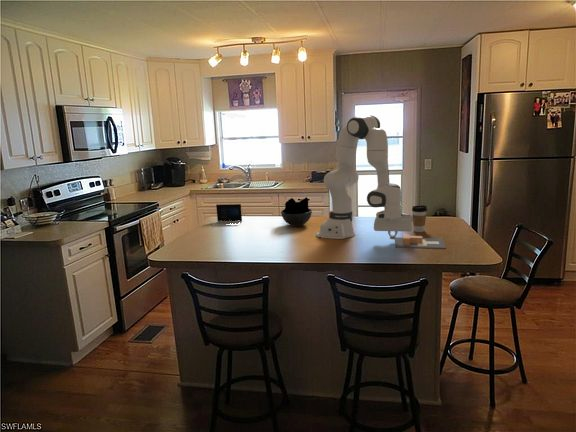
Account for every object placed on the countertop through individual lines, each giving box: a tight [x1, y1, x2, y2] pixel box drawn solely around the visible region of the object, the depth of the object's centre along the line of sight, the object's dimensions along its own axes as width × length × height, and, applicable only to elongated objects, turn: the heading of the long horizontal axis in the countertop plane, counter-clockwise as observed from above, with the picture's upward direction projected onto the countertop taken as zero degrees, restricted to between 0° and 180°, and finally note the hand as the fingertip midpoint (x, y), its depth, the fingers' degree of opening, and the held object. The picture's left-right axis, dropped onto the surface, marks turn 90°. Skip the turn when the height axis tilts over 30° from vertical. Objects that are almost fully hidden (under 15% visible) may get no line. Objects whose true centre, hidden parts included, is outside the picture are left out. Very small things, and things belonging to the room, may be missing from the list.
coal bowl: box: [280, 196, 313, 227], centre depth 275 cm, size 20×20×19 cm
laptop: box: [211, 203, 243, 227], centre depth 290 cm, size 18×12×13 cm
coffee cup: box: [411, 204, 428, 233], centre depth 249 cm, size 8×8×15 cm
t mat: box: [394, 236, 447, 250], centre depth 226 cm, size 25×18×1 cm
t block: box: [402, 233, 423, 245], centre depth 226 cm, size 10×11×3 cm
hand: (392, 238), depth 229 cm, fingers closed
